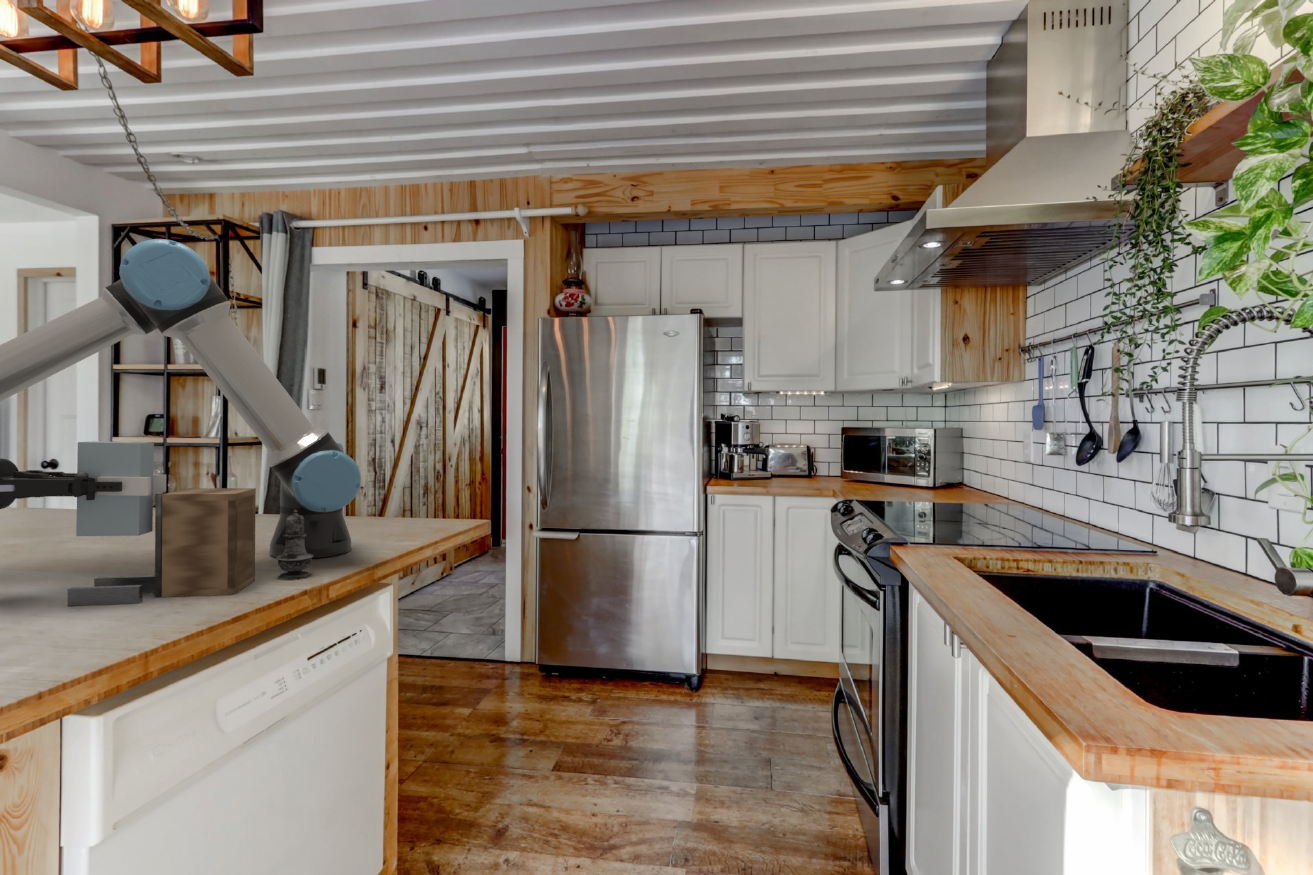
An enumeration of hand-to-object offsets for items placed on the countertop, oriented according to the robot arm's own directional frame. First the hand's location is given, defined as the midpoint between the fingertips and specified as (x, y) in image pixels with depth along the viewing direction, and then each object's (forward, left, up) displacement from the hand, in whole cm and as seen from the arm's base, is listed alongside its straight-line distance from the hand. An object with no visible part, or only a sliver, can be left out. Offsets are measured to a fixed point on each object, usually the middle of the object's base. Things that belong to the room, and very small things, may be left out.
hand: (157, 484), depth 100 cm
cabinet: (-7, -2, -17) cm, 19 cm away
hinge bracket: (+5, -1, -17) cm, 18 cm away
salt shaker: (-19, -6, -18) cm, 27 cm away
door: (+5, -1, -7) cm, 9 cm away
